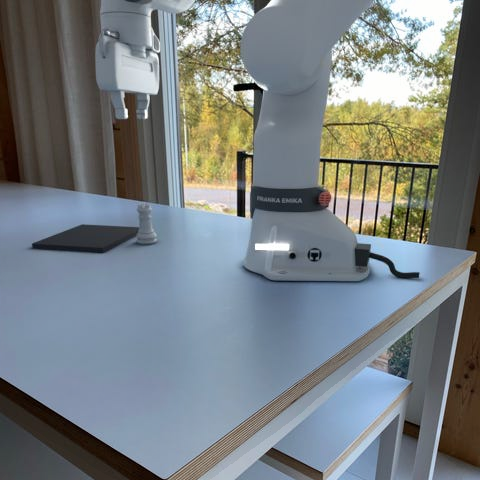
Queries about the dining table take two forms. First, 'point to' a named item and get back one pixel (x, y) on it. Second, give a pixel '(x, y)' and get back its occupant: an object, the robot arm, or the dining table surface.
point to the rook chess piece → (145, 226)
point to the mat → (88, 238)
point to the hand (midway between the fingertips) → (132, 119)
